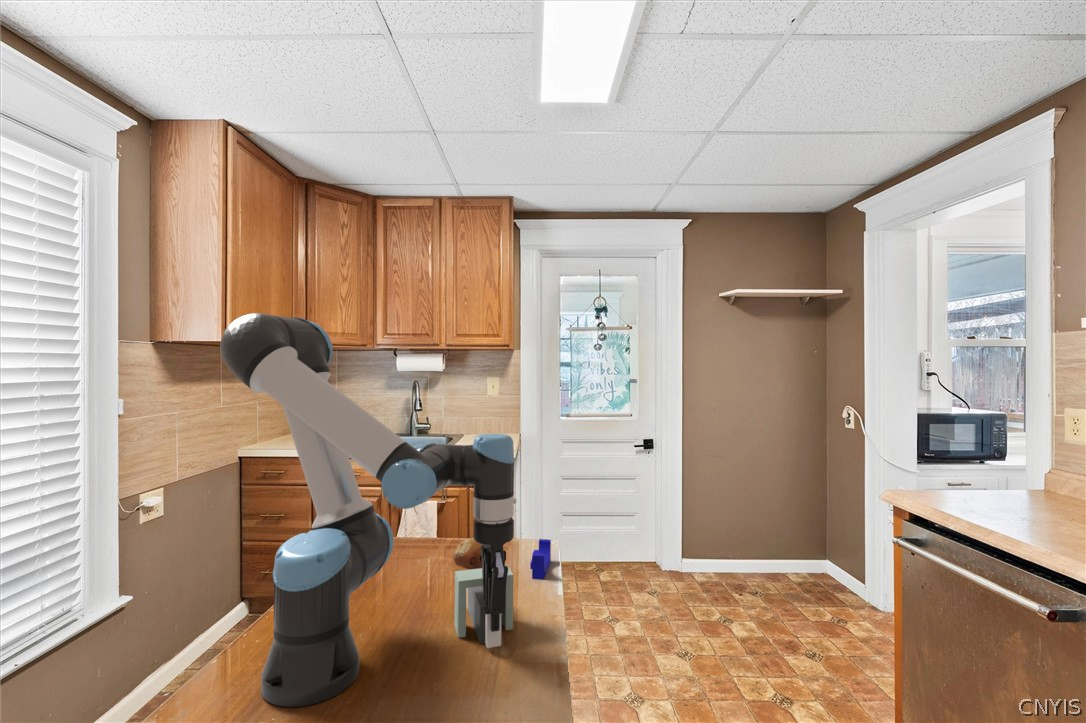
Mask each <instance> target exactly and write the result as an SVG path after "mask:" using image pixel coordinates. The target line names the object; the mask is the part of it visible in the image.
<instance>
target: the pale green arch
mask: <svg viewBox="0 0 1086 723" xmlns="http://www.w3.org/2000/svg"><path fill="white" fill-rule="evenodd" d="M505 566H508V574H507V580H506V595H505V611H504V613H501V625H502V626H503V628H504V629H505V631H510V630H514V573H513V572H512V570H511V569H510V567H509V565H508V564H507V565H506V564H505ZM479 586H483V576H482V567H481V568H470V569H464V570H456V571H454V625H453V626H454V628H455V629H454V630H455V632H456V636H457V638H458V639H460V638H466V637H467V606H466V589H467V588H471V587H479Z"/></svg>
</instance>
